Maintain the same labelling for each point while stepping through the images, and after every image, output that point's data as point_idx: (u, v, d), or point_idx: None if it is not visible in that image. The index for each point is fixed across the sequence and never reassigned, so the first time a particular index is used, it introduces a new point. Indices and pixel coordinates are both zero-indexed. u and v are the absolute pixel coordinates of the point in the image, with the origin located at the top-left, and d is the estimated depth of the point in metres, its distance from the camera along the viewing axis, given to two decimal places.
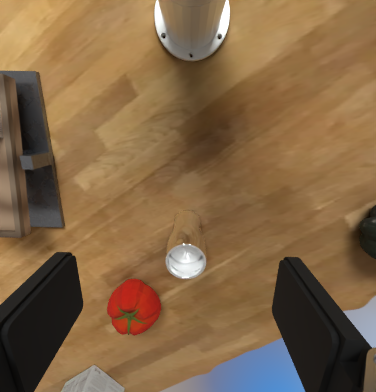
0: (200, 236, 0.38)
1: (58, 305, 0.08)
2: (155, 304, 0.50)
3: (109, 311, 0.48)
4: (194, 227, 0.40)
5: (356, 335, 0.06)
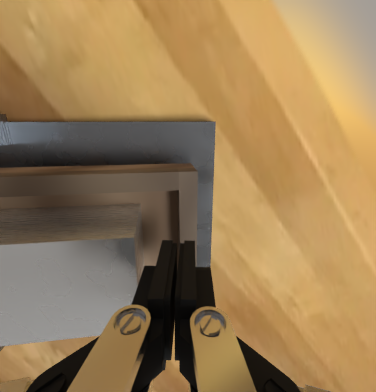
0: None
1: (174, 285, 0.10)
2: None
3: None
4: None
5: (191, 296, 0.07)
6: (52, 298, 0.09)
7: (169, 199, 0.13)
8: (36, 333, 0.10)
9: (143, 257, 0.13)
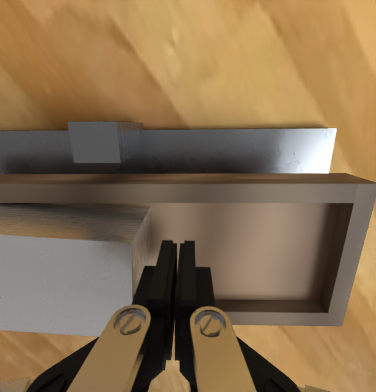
0: None
1: (174, 285, 0.10)
2: None
3: None
4: None
5: (191, 296, 0.07)
6: (50, 292, 0.09)
7: (329, 211, 0.12)
8: (34, 323, 0.10)
9: (148, 261, 0.13)
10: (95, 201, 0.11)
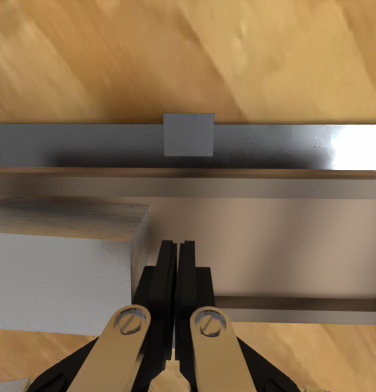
0: None
1: (174, 285, 0.10)
2: None
3: None
4: None
5: (191, 296, 0.07)
6: (48, 291, 0.09)
7: None
8: (32, 322, 0.10)
9: (148, 260, 0.13)
10: (185, 195, 0.11)
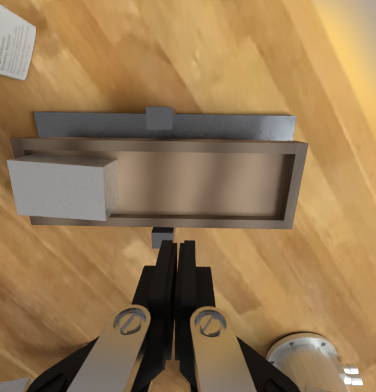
0: None
1: (174, 285, 0.10)
2: None
3: None
4: None
5: (191, 296, 0.07)
6: (64, 194, 0.19)
7: (285, 160, 0.22)
8: (55, 212, 0.20)
9: (117, 191, 0.23)
10: (157, 151, 0.21)
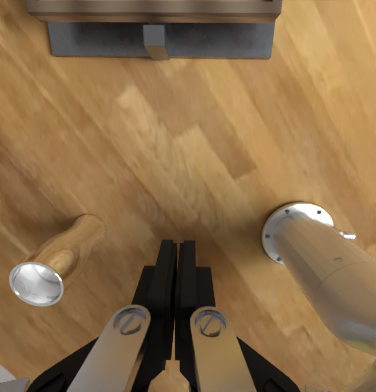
0: None
1: (174, 285, 0.10)
2: None
3: None
4: (86, 263, 0.33)
5: (191, 296, 0.07)
6: None
7: None
8: None
9: None
10: None
